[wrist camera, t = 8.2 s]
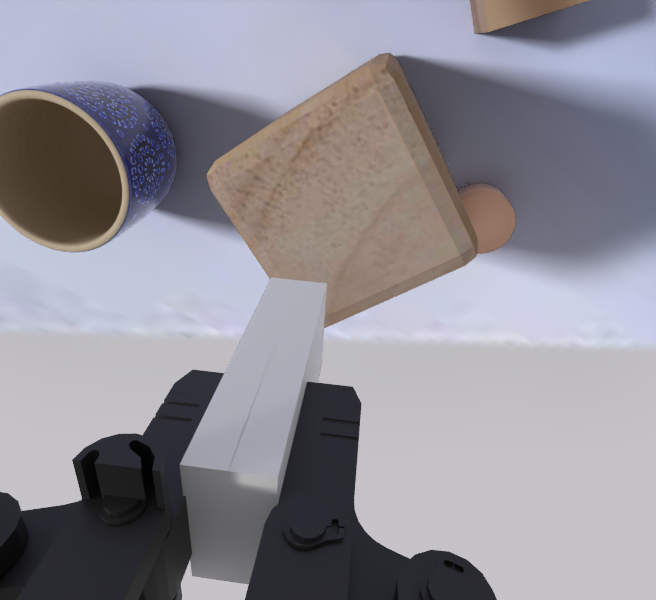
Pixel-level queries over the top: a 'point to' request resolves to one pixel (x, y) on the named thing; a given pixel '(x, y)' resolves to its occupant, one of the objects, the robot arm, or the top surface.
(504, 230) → the terracotta puck
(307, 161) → the wooden block
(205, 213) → the top surface
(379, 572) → the robot arm
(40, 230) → the planter
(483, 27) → the walnut cube
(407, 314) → the top surface
